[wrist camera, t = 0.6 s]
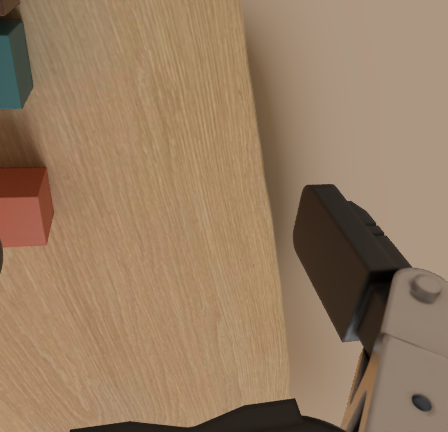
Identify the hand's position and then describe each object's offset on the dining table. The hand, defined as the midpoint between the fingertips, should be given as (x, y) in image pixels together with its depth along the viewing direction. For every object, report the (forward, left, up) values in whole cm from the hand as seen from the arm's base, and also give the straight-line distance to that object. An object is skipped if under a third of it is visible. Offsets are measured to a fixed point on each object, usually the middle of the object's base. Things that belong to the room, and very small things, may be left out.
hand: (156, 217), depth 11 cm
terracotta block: (+13, -9, -23) cm, 28 cm away
